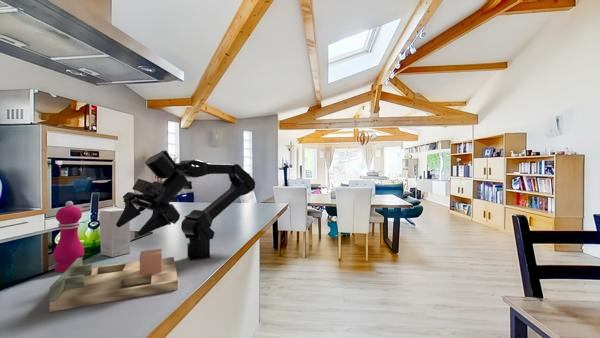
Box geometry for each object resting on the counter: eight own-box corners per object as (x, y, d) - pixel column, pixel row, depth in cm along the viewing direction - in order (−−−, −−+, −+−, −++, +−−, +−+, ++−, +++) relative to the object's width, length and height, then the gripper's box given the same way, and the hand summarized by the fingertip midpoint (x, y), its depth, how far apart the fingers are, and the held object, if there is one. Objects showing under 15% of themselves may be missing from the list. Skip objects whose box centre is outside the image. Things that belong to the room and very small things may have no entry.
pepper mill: (58, 274, 78) (58, 203, 78) (48, 270, 82) (49, 201, 82) (88, 267, 84) (88, 200, 84) (78, 263, 88) (78, 199, 88)
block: (161, 266, 78) (161, 248, 78) (161, 272, 74) (161, 253, 74) (140, 269, 76) (140, 251, 76) (139, 275, 72) (139, 255, 72)
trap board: (173, 263, 87) (173, 247, 87) (177, 289, 68) (177, 268, 68) (77, 276, 77) (77, 258, 77) (49, 311, 57) (49, 287, 57)
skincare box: (130, 253, 99) (131, 209, 99) (110, 258, 93) (110, 211, 93) (119, 249, 103) (119, 207, 103) (98, 254, 98) (98, 209, 98)
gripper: (134, 165, 84) (87, 203, 74) (178, 175, 76) (132, 220, 66) (153, 190, 91) (113, 228, 81) (195, 202, 83) (156, 246, 73)
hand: (127, 230), depth 75 cm, fingers open, 9 cm apart
